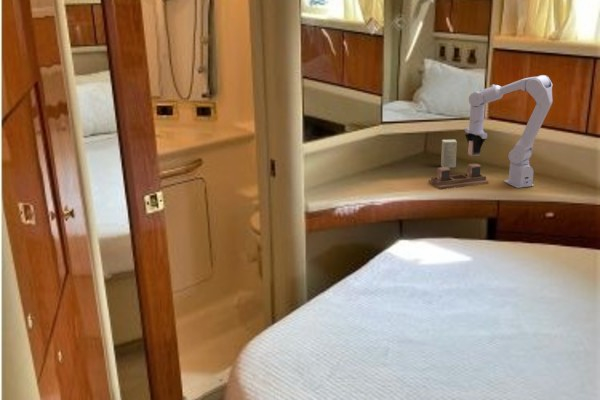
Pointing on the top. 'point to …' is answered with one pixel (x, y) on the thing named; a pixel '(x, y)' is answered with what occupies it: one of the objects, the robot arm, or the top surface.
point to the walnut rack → (458, 178)
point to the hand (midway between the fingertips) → (474, 151)
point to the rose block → (472, 149)
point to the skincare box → (448, 153)
